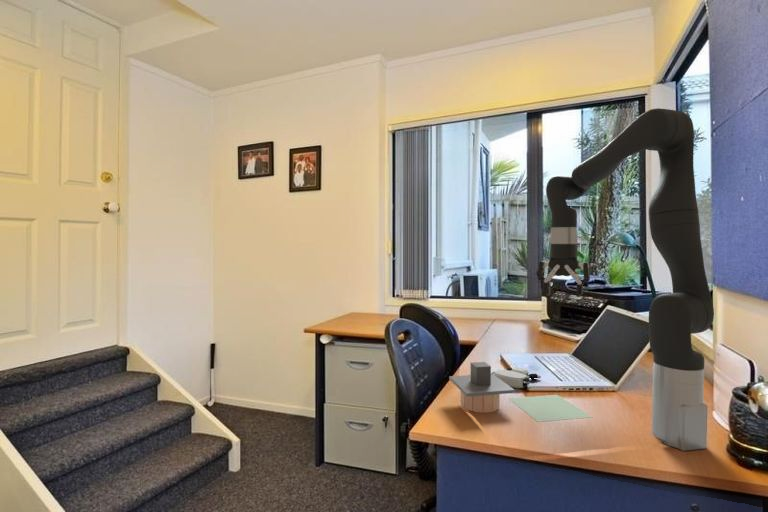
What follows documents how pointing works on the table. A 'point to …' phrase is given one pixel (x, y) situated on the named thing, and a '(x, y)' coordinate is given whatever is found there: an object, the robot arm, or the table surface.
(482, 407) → the bowl
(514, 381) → the robot toy
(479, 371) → the lid
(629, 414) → the table surface
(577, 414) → the mat
